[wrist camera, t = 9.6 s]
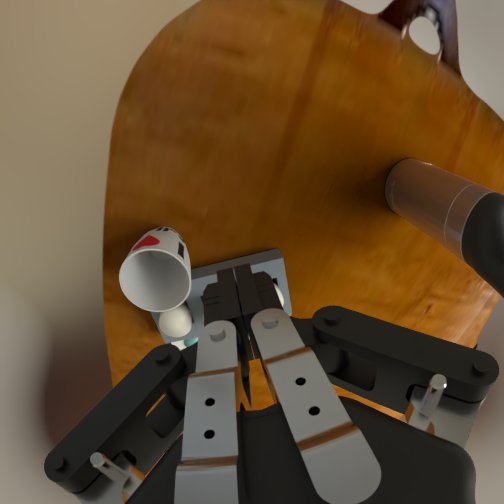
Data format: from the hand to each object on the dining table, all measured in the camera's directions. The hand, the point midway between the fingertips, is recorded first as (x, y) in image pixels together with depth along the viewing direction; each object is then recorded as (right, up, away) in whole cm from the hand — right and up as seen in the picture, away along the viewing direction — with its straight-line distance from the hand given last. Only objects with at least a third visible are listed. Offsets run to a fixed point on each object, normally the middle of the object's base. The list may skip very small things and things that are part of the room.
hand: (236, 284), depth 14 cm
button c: (-11, -7, +31) cm, 33 cm away
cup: (-11, +3, +28) cm, 30 cm away
